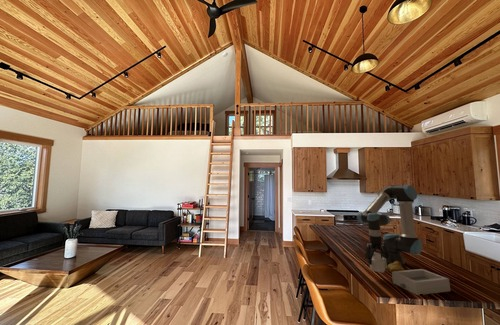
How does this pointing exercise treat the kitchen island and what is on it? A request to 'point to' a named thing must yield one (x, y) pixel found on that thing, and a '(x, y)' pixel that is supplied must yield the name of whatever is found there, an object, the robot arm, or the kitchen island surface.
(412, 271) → the grey rectangular tray
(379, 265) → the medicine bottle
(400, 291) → the kitchen island surface
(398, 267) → the bread roll
